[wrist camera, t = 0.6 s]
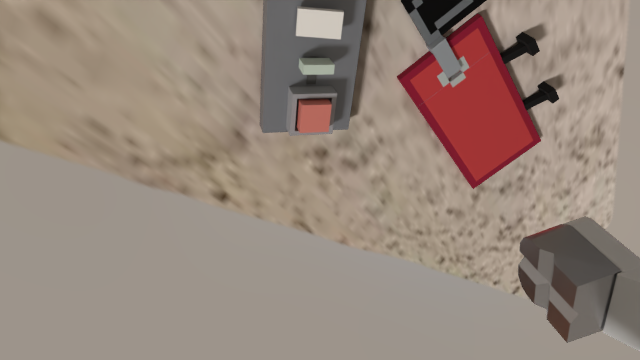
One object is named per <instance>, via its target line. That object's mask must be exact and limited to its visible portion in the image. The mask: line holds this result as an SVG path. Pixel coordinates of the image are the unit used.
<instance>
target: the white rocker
mask: <svg viewBox="0 0 640 360" xmlns="http://www.w3.org/2000/svg"><path fill="white" fill-rule="evenodd" d="M343 16H344V11H343V10H334V9H322V8H311V7H299V6H298V8H297V23H296V36H303V37H316V38H328V39H341V32H342V24H343Z"/></svg>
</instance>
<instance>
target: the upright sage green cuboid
mask: <svg viewBox="0 0 640 360" xmlns="http://www.w3.org/2000/svg"><path fill="white" fill-rule="evenodd" d="M334 68H335V65H334V63H333V62H332V61H331V60H330V58H299V69H300V70H301V72H302V74H303V75H325V74H334Z"/></svg>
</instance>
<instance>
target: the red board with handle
mask: <svg viewBox="0 0 640 360" xmlns="http://www.w3.org/2000/svg"><path fill="white" fill-rule="evenodd" d="M485 1H486V0H401V2H402V4H403V5H404V7H405V9H406V10H407V12H408V14H409V15H410V17H411V19H412V21H413V22H414V24H415V26H416V27H417V29H418V31H419V32H420V34H421V36H422V37H423V39H424V41H425V43H426V46H427V48H428V49H429V52H428V53H426V54H425V55H424V56H422V57H421V58H420V59H419V60H417V61H416V62H415V63H413V64H412V65H411V66H410V67H408V68H407V69H406V70H405V71H403V72H402V73H401V74H400V75H398V76H397V78H398V80H399V81H400V83H401V84H402V86H403V87H404V88H405V90H406V91H407V93H408V94H409V96H410V97H411V99H412V100H413V102H414V103H415V105H416V106H417V108H418V109H419V110H420V112H421V113H422V115H423V116H424V118H425V119H426V121H427V122H428V124H429V125H430V127H431V128H432V130H433V131H434V133H435V134H436V135H437V137H438V138H439V140H440V141H441V143H442V144H443V146H444V147H445V149H446V150H447V152H448V153H449V155H450V156H451V158H452V159H453V160H454V162H455V163H456V165H457V166H458V168H459V169H460V171H461V172H462V174H463V175H464V177H465V178H466V180H467V181H468V182H469V184H470V185H471V187H472V188H473V189H474V188H475V187H477V186H478V185H480V184H481V183H482V182H484V181H485V180H487V179H488V178H489V177H491V176H492V175H494V174H495V173H496V172H498V171H499V170H501V169H502V168H503V167H505V166H506V165H508V164H509V163H511V162H512V161H513V160H515V159H516V158H518V157H519V156H520V155H522V154H523V153H525V152H526V151H527V150H529V149H530V148H532V147H533V146H535V145H536V144H537V143H539V142H540V141H541V139H540V137H539V135H538V133H537V131H536V129H535V127H534V125H533V123H532V120H531V118H530V116H529V114H528V112H527V109H529V108H531V107H533V106H535V105H537V104H539V103H542V102H544V101H546V100H549V101H550V102H551V103H554V102H556V101H557V100H558V99H559V97H558V95H557V92H556V90H555V89H554V88H553V87H551V86H550V85H548V84H547V83H545V82H544V81H543V82H542V83H541V84H539V85H538V88H539V91H540V92H539V93H537V94H535V95H533V96H531V97H529V98H527V99H525V100H523V101H522V99H521V97H520V95H519V93H518V91H517V89H516V87H515V85H514V83H513V81H512V78H511V76H510V74H509V72H508V70H507V68H506V66H505V64H506V63H507V62H509V61H511V60H513V59H515V58H517V57H519V56H520V55H522V54H524V53H526V52H527V53H529V54H530V55H532V56H534V55H535V54H536V53H538V52H539V51H540V50H539V48H538V45H537V43H536V40H535V39H534V38H532V37H530V36H529V35H527V34H525V33H523V32H522V33H520V34H519V35H518V36H517V37H516V39H517V41H518V43H519V44H518V45H516V46H514V47H512V48H510V49H508V50H507V51H505V52H503V53H501V54H500V53H499V51H498V49H497V47H496V45H495V43H494V41H493V39H492V36H491V34H490V32H489V30H488V28H487V26H486V24H485V22H484V20H483V18H482V16H481V15H479V14H478V13H477V14H476V15H475V16H474V17H472V18H471V19H470V20H468V21H467V22H466V23H465V24H463V25H462V26H461V27H459V28H458V29H457V30H456V31H454V32H453V33H452V34H451V35H449V36H448V37H447V38H444V37H443V36H442V35H443V34H444V33H445V32H447V31H448V30H449V29H451V28H452V27H453V26H454V25H456V24H457V23H458V22H459V21H461V20H462V19H463V18H465V17H466V16H467V15H468V14H470V13H471V12H472V11H473V10H475V9H476V8H477V7H479V6H480V5H481V4H482V3H484V2H485Z"/></svg>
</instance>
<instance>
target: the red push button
mask: <svg viewBox="0 0 640 360" xmlns="http://www.w3.org/2000/svg"><path fill="white" fill-rule="evenodd" d="M331 107H332V104H331V103H330V101H329V100H328V99H299V102H298V115H297V128H298V130H299V133H313V132H329V124H330V116H331Z"/></svg>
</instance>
